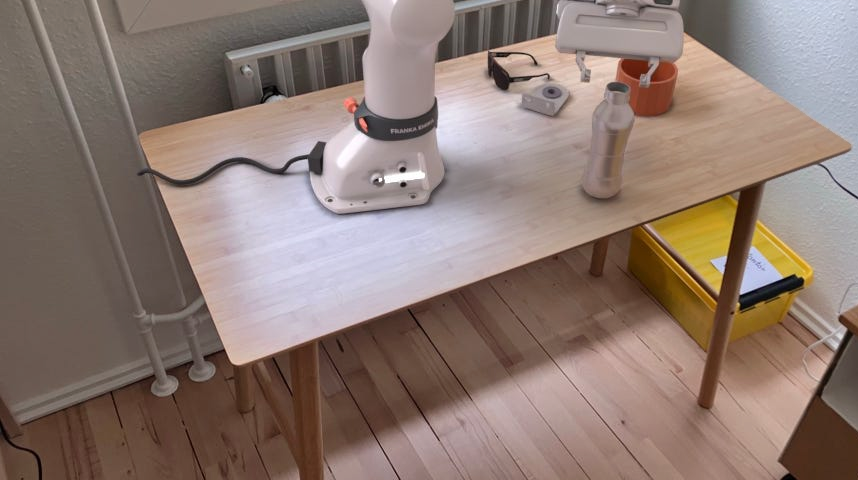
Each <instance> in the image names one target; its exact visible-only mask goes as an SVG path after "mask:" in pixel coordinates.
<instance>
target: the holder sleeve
mask: <svg viewBox="0 0 858 480" xmlns="http://www.w3.org/2000/svg"><path fill="white" fill-rule="evenodd" d="M648 63H649V61H646V60H635V59H623V58H619V60H618V63H617V69H616V74H615V81H614V82H623V83H625V84H627V85H629V87H630V100H629V102H628V103H629V105H630V106H631V108H632V110H633V112H634V115H636V116H642V117H643V116H645V117H651V116H658V115H661V114H664V113H665V112H667V111H668V110H669V109H670V107H671V106H672V105H671V104H672V102H673V97H674V93H675V88H676V84H677V79H678V75H679V68H678V67H677V65H676V64H675V62H674V63H669V62H659V65H658V67H657V68H656V70H655V71H654V72H653V74H652V75H651V77H650V85H649V88H643V87H639V83H640V76H641V74H647V73H648V72H649V70H650V69H651V67H648Z"/></svg>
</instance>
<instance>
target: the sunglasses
mask: <svg viewBox="0 0 858 480" xmlns="http://www.w3.org/2000/svg"><path fill="white" fill-rule="evenodd" d="M511 55H523V56H528V57H530V58H531V60H532V61H533V64H534V65H535V66H538V61H537V59H535V57H534V56H533V55H532V54H530V53H527V52H522V51H521V52H520V51H490V50H487V74H488V77H493V80H494V83H495V85H496V87H497V88H498V89H500V90H502V91H508V90H509V88H510V85H511V84H513V83H522V82H528V81H531V79H533V78H540V77H541V78H542V77H544V76H547V80H550V78H551V75H550V73H548V72H545V73H542V74H538V75H537V74H536V75H534V74H533V75H523V76H511V75H510V73H509V72H508V71H507V70H505V68H503V66H501V64H500V63H498V62H497V60H496V58H508V57H510V56H511Z"/></svg>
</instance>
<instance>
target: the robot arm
mask: <svg viewBox="0 0 858 480" xmlns="http://www.w3.org/2000/svg"><path fill="white" fill-rule="evenodd" d="M360 1H361V3H362V5H363V6H364V7H365V11H366V13H367V16H368V20H369V28H370V33H369V40H368V45H367V47H366V48H365V50H364V52H363V54H362V58H361V63H362V72H363V73H362V76H363V77H362V78H363V87H364V88H363V89H364V91H363V92H364V96H363V98H362V101H361V102H360V104H359V103H358V101H357V99H356V98H354V97H347V98H346V99H345V101H344V102H343V105H344V108H346V110H347V113H349V114H352V115H353V120H352V121H351V122H350V123H348V124H347V125H346V126H345V127H343V128H342V129H341V130H340V131H338V132H337V133H336V134H335V135H333V136H332V137H330V138H329V139H328V140H327V142H326V141H321V140H317V142H316V144H315V145H314V147H313V148H312V149H311V151H310V152H309V153H307V154H301V155H297V156H294V157H292V158H290V159H288V160H287V161H286V163H285V164H284V165H283V166H282V167H280V168H271V167H268V166H266V165H264V164H262V163H260V162H258V161H256V160H255V159H252V158H249V157H244V156H238V157H237V156H236V157H230V158H227V159H224V160H222V161H220V162H218V163H216V164H214V165H213V166H212V167H210V168H209V169H207V170H206V171H204V172H202V173H201V174H198V175H197V176H195V177H192V178H188V179H175V178H172V177H169V176H167V175H165V174H163V173H161V172H159V171H158V170H156V169H154V168H149V167H147V168H143V169H140V170H139V171H138V172H137V173H136V176H138V177H140V176H143V175H145V174H151V175H154V176H155V177H157V178H159V179H161V180H163V181H165V182H166V183H167V182H168V183H170V184H173V185H177V186H183V185H184V186H185V185H191V184H194V183H197V182H199V181H202V180H203V179H206V178H207V177H209V176H210V175H211V174H213V173H214V172H216V171H217V170H219V169H220V168H222V167H224V166H226V165H229V164H232V163H247V164H249V165H253V166H255V167H256V168H258V169H260V170H262V171H264V172H267V173H270V174H276V175H277V174H283V173H285V172H286V171H287V170H288V169H289V168H290V167H291V165H293V164H294V163H296V162H299V161H303V160H305V161H306V160H307V164H308V172H309V176H310V177H309V179H310V185H311V188H312V191H313V192H314V195H315V196H316V199H318V201H319V202H320V203H321V204H322V206H323V207H325V208H326V209H327V210H329V211H331V212H333V213H334V214H338V215H339V214H340V215H341V214H351V213H359V212H368V211H376V210H385V209H394V208H395V209H396V208H403V207H411V206H421V205H425V204H426V203H427V202H428V201H429V199H430V197H431V194H432V192H433V191H434V190H435V188H437V187H438V186H439V185H440V184H441V183H442V181H443V180H444V177H445V166H444V163H443V160H442V157H441V153H440V149H439V145H438V144H439V143H438V137H437V128H438V125H439V124H438V121H439V105H438V98H437V96H436V57H437V52H438V48H439V44H440V42H441V41H442V40H443V39H445V37H446V36H447V34H448V33H449V32H450V30H451V28H452V27H453V24H454V20H455V17H456V16H455V15H456V7H455V3H454V2H455V1H454V0H360ZM680 3H681V0H558V2H557V5H556V11H555V13H556V14H555V15H556V18H557V20H558V22H559V23H558V26H557V30H556V31H557V32H556V36H555V44H554V47H555V50H556V51H557V52H558V53H559V54H566V55H567V54H568V55H575V63H576V65H577V67H578V69H579V71H580V81H579V82H580V83H590V82H591V74H592V69H589V68H586V65H585V62H584V61H585V59H586V56H588V57H589V56H591V57H601V58H613V59H621V58H623V59H635V60H646V61H649V63H648V67H651V69H650V70H649V72H648V73H647V74H641V76H640V83H639V87H643V88H649V85H650V77H651V75H652V74H653V72H654V71H655V70H656V68H657V67H658V65H659V62H669V63H674V64H675V63H676V62H677V61H678V60H680V59H681V57H682V55H683V53H684V46H685V45H684V43H685V42H684V41H685V40H684V39H685V34H684V32H685V31H684V30H685V29H684V21H683V17H682V15H681V14H680V12H679V11H678V10H679V7H680Z"/></svg>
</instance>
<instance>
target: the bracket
mask: <svg viewBox="0 0 858 480" xmlns="http://www.w3.org/2000/svg"><path fill="white" fill-rule="evenodd" d="M569 95H570V93H569V90H568V89H567V88H566V87H565V86H564V85H562V84H560V83H555V82H546V83H542V84H540V85H538V86H537V87H536V88H535V89H534V91H533V92H532V93H531V94H530V93H527V92H522V93H521V107H524V109H528V110H531V111H533V112H538V113H540V114H544V115H547V116H553V117H554V116H556V114H557V113H558V112H559V111H560V109H561V108H562V107H563V105H564V104H565V103H566V101H567V100H568V99H569ZM526 98H527V99H526Z"/></svg>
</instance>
